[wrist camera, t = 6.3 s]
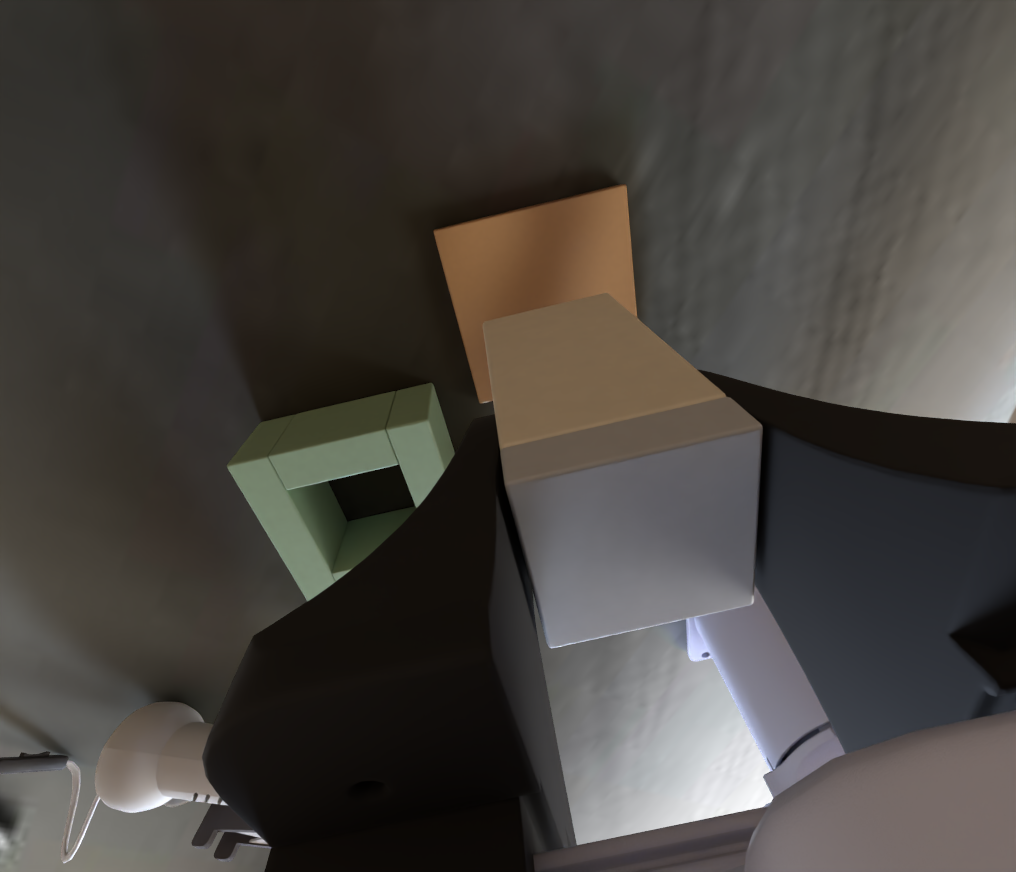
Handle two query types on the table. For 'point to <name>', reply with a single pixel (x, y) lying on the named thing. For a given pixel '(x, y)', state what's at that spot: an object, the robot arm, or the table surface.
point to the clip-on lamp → (151, 775)
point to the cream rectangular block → (621, 472)
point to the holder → (338, 476)
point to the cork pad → (535, 263)
